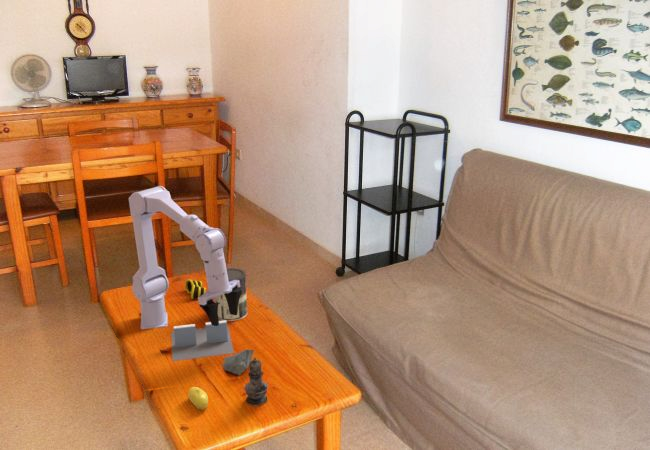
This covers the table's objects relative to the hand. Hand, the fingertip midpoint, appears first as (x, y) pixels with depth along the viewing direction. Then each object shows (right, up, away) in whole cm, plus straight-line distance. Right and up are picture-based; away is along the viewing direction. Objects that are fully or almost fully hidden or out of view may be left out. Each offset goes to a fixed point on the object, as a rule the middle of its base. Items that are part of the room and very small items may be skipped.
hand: (224, 319), depth 167 cm
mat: (-8, -8, +9) cm, 14 cm away
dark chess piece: (+11, -17, -18) cm, 27 cm away
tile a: (-12, -8, +7) cm, 16 cm away
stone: (+4, -13, -3) cm, 14 cm away
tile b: (-4, -8, +9) cm, 12 cm away
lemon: (-3, -18, -19) cm, 26 cm away
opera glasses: (-17, +2, +40) cm, 44 cm away
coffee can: (-2, -3, +26) cm, 26 cm away
